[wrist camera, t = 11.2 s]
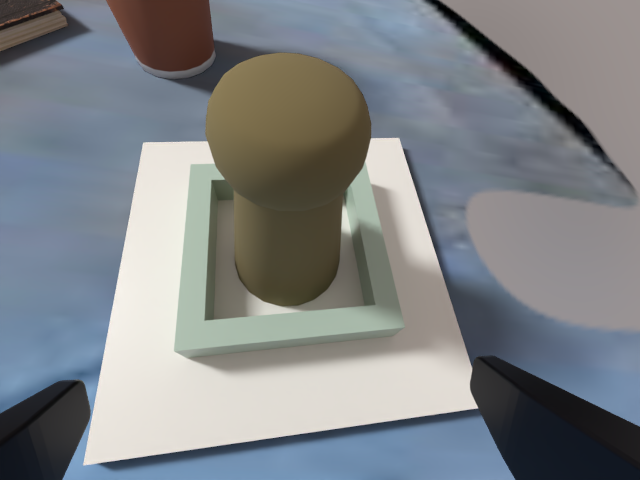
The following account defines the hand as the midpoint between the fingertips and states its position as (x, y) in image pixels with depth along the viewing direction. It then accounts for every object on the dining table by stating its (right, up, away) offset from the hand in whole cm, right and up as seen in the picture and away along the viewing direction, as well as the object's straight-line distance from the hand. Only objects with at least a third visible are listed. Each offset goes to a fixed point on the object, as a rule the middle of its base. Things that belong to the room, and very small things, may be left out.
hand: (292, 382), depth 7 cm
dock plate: (-1, +2, +12) cm, 12 cm away
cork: (-1, +2, +11) cm, 12 cm away
